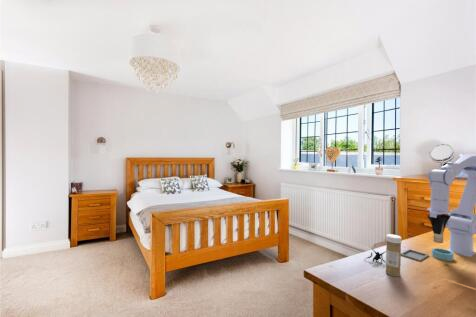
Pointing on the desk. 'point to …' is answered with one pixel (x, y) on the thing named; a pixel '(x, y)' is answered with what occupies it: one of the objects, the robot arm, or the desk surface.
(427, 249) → the desk surface
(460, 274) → the desk surface
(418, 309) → the desk surface
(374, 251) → the creature
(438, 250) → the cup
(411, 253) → the tray
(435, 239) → the pin
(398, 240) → the sprinkles bottle
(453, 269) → the desk surface
